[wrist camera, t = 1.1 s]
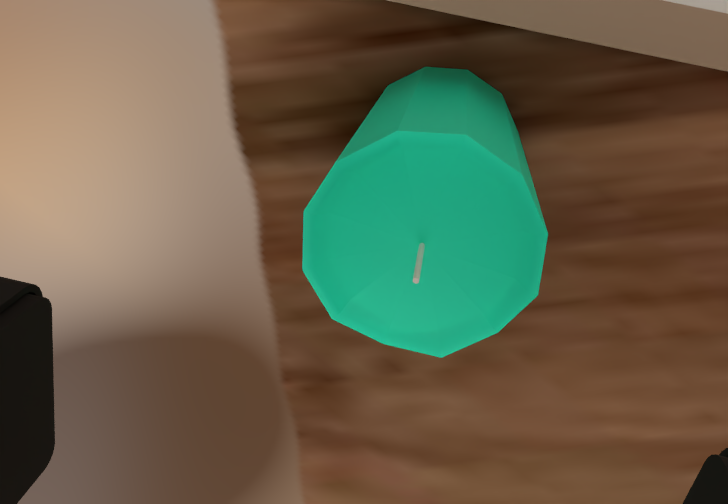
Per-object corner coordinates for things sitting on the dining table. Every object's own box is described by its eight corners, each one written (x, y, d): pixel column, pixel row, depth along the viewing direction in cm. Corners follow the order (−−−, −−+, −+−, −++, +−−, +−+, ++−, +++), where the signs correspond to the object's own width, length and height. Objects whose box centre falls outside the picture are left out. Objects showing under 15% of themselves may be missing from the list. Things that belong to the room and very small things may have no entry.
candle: (331, 136, 26) (229, 260, 15) (450, 29, 24) (433, 85, 13) (429, 245, 27) (401, 434, 16) (551, 154, 25) (615, 302, 14)
